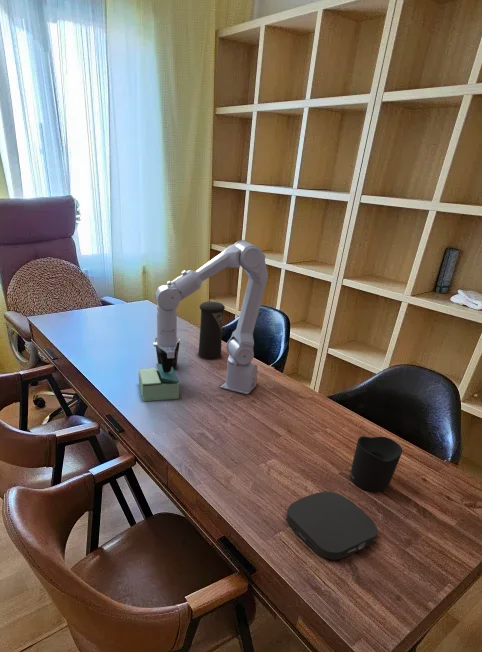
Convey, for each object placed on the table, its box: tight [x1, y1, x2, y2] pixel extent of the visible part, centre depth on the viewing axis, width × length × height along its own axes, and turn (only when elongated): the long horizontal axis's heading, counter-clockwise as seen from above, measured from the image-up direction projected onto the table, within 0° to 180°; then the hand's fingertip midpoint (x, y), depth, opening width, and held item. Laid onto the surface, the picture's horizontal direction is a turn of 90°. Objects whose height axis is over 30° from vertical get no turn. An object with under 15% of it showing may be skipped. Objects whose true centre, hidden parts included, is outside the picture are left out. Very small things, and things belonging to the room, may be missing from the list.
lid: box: [156, 363, 180, 384], centre depth 131 cm, size 5×11×1 cm, turn 13°
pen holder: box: [349, 435, 403, 493], centre depth 97 cm, size 9×9×10 cm
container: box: [198, 300, 225, 360], centre depth 156 cm, size 9×9×20 cm
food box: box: [138, 367, 180, 402], centre depth 133 cm, size 11×11×6 cm
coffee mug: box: [154, 336, 181, 370], centre depth 149 cm, size 12×9×10 cm
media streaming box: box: [286, 491, 378, 561], centre depth 85 cm, size 15×15×3 cm
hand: (166, 371), depth 131 cm, fingers closed
